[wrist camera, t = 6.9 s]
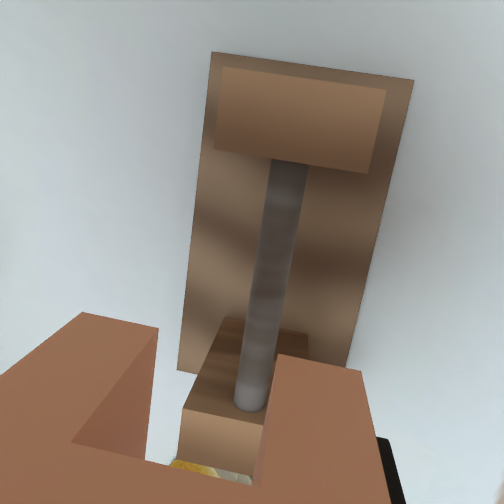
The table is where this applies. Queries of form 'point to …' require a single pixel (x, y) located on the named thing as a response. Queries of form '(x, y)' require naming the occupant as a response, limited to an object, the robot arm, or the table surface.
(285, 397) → the clip
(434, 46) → the table surface
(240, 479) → the bread roll
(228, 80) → the stand
